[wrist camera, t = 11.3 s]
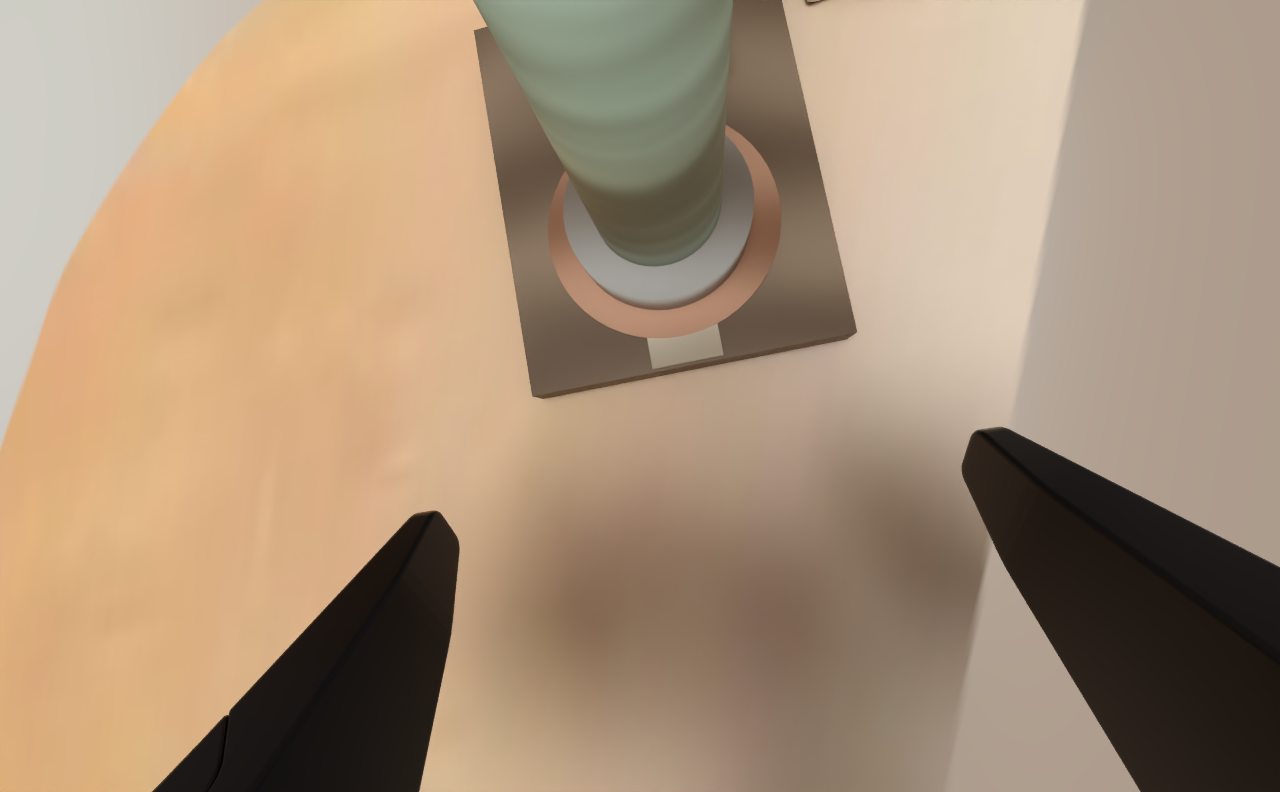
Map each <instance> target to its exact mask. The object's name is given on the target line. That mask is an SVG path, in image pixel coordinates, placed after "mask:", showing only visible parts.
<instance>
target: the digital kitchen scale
mask: <svg viewBox="0 0 1280 792" xmlns="http://www.w3.org/2000/svg"><path fill="white" fill-rule="evenodd" d="M474 34H475V40H476V46H477V52H478V59H479V65H480V71H481V77H482V84H483V90H484V96H485V102H486V109H487V115H488V121H489V128H490V134H491V140H492V146H493V153H494V159H495V165H496V171H497V178H498V184H499V190H500V196H501V203H502V209H503V215H504V221H505V228H506V234H507V240H508V247H509V253H510V259H511V265H512V272H513V278H514V284H515V290H516V297H517V303H518V309H519V315H520V322H521V328H522V334H523V340H524V347H525V353H526V359H527V366H528V372H529V378H530V384H531V391H532V396H533V397H538V398H542V399H545V398H550V397H555V396H560V395H565V394H570V393H575V392H580V391H585V390H590V389H596V388H601V387H606V386H611V385H616V384H621V383H626V382H631V381H636V380H641V379H646V378H651V377H656V376H662V375H667V374H672V373H677V372H682V371H687V370H692V369H697V368H702V367H707V366H712V365H717V364H723V363H728V362H733V361H738V360H743V359H748V358H753V357H758V356H763V355H768V354H773V353H778V352H783V351H789V350H794V349H799V348H804V347H809V346H814V345H819V344H824V343H829V342H834V341H839V340H844V339H848V338H849V337H850V336H852V335H853V334H855V333H856V332H857V330H856V325H855V321H854V316H853V312H852V308H851V303H850V299H849V294H848V290H847V286H846V281H845V277H844V272H843V268H842V264H841V259H840V255H839V251H838V246H837V242H836V237H835V233H834V229H833V224H832V220H831V215H830V211H829V207H828V202H827V198H826V193H825V189H824V185H823V180H822V176H821V171H820V167H819V163H818V158H817V154H816V149H815V145H814V141H813V136H812V132H811V127H810V123H809V119H808V114H807V110H806V106H805V101H804V97H803V92H802V88H801V84H800V79H799V75H798V70H797V66H796V62H795V57H794V53H793V48H792V44H791V40H790V35H789V31H788V26H787V22H786V18H785V13H784V9H783V4H782V0H733V10H732V27H731V44H730V61H729V78H728V95H727V112H726V129H725V135H726V136H727V137H728V138H729V139H730V140H731V141H732V142H733V143H734V144H735V145H736V147H737V148H738V149H739V151H740V152H741V154H742V155H743V157H744V159H745V161H746V163H747V165H748V168H749V171H750V174H751V177H752V182H753V188H754V211H753V218H752V223H751V227H750V232H749V237H748V241H747V245H746V248H745V250H744V253H743V256H742V258H741V260H740V261H739V263H738V265H737V267H736V268H735V270H734V271H733V272H732V274H731V275H730V276H729V278H728V279H727V280H726V281H725V282H724V283H723V284H722V285H721V286H720V287H718V288H717V289H716V290H715V291H714V292H712V293H711V294H709V295H708V296H706V297H704V298H703V299H701V300H699V301H697V302H694V303H692V304H689V305H686V306H683V307H680V308H675V309H669V310H648V309H642V308H637V307H633V306H630V305H628V304H625V303H623V302H621V301H619V300H617V299H615V298H613V297H612V296H610V295H609V294H607V293H606V292H605V291H604V290H603V289H601V288H600V287H599V286H598V285H597V284H596V283H595V281H594V280H593V279H592V278H591V277H590V275H589V274H588V273H587V271H586V270H585V268H584V267H583V266H582V264H581V263H580V262H579V260H578V259H577V257H576V255H575V254H574V252H573V250H572V248H571V246H570V243H569V241H568V238H567V234H566V231H565V225H564V218H563V204H564V196H565V191H566V187H567V183H568V180H569V176H568V175H567V173H566V171H565V169H564V167H563V165H562V163H561V162H560V160H559V158H558V156H557V154H556V152H555V151H554V149H553V147H552V145H551V143H550V141H549V139H548V138H547V136H546V134H545V132H544V130H543V128H542V126H541V125H540V123H539V121H538V119H537V117H536V115H535V113H534V112H533V110H532V108H531V106H530V104H529V102H528V101H527V99H526V97H525V95H524V93H523V91H522V89H521V88H520V86H519V84H518V82H517V80H516V78H515V76H514V75H513V73H512V71H511V69H510V67H509V65H508V64H507V62H506V60H505V58H504V56H503V54H502V52H501V51H500V49H499V47H498V45H497V43H496V41H495V39H494V38H493V36H492V34H491V32H490V30H489V28H488V27H485V28H481V29H478V30H474Z"/></svg>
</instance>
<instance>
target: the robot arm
mask: <svg viewBox="0 0 1280 792" xmlns="http://www.w3.org/2000/svg"><path fill="white" fill-rule="evenodd" d="M962 474H963V478H964V480H965V483H966V485H967V487H968V489H969V491H970V493H971V496H972V498H973V500H974V502H975V504H976V506H977V509H978V511H979V513H980V515H981V517H982V519H983V522H984V524H985V526H986V528H987V530H988V532H989V535H990V537H991V539H992V541H993V543H994V545H995V547H996V550H997V551H998V554H999V556H1000V558H1001V560H1002V562H1003V564H1004V566H1005V567H1006V569H1007V571H1008V573H1009V574H1010V576H1011V578H1012V579H1013V581H1014V583H1015V584H1016V586H1017V588H1018V589H1019V591H1020V593H1021V594H1022V596H1023V598H1024V599H1025V601H1026V603H1027V604H1028V606H1029V608H1030V609H1031V611H1032V613H1033V614H1034V616H1035V618H1036V619H1037V621H1038V622H1039V624H1040V626H1041V627H1042V629H1043V630H1044V632H1045V634H1046V636H1047V637H1048V639H1049V641H1050V642H1051V644H1052V645H1053V647H1054V649H1055V651H1056V652H1057V654H1058V656H1059V657H1060V659H1061V661H1062V662H1063V664H1064V666H1065V667H1066V669H1067V671H1068V672H1069V674H1070V676H1071V677H1072V679H1073V680H1074V682H1075V684H1076V685H1077V687H1078V688H1079V690H1080V692H1081V693H1082V695H1083V697H1084V699H1085V700H1086V702H1087V704H1088V705H1089V707H1090V709H1091V710H1092V712H1093V714H1094V715H1095V717H1096V719H1097V720H1098V722H1099V724H1100V725H1101V727H1102V729H1103V730H1104V732H1105V734H1106V735H1107V737H1108V738H1109V740H1110V742H1111V744H1112V745H1113V747H1114V748H1115V750H1116V752H1117V753H1118V755H1119V757H1120V758H1121V760H1122V762H1123V763H1124V765H1125V767H1126V768H1127V770H1128V772H1129V773H1130V775H1131V777H1132V778H1133V780H1134V782H1135V783H1136V785H1137V787H1138V788H1139V790H1140V792H1280V567H1279V566H1277V565H1275V564H1273V563H1271V562H1269V561H1267V560H1265V559H1263V558H1261V557H1259V556H1257V555H1255V554H1253V553H1251V552H1249V551H1247V550H1245V549H1243V548H1241V547H1239V546H1237V545H1235V544H1233V543H1231V542H1229V541H1227V540H1226V539H1223V538H1222V537H1220V536H1217V535H1216V534H1214V533H1212V532H1210V531H1208V530H1206V529H1204V528H1202V527H1200V526H1198V525H1196V524H1194V523H1192V522H1190V521H1188V520H1186V519H1184V518H1182V517H1180V516H1178V515H1176V514H1174V513H1172V512H1171V511H1168V510H1167V509H1165V508H1163V507H1161V506H1159V505H1157V504H1155V503H1153V502H1151V501H1149V500H1147V499H1145V498H1143V497H1141V496H1139V495H1137V494H1135V493H1133V492H1131V491H1129V490H1127V489H1125V488H1123V487H1121V486H1119V485H1117V484H1116V483H1114V482H1111V481H1109V480H1108V479H1106V478H1104V477H1102V476H1100V475H1098V474H1096V473H1094V472H1092V471H1090V470H1088V469H1086V468H1084V467H1082V466H1080V465H1078V464H1076V463H1074V462H1072V461H1070V460H1068V459H1066V458H1064V457H1063V456H1061V455H1058V454H1057V453H1055V452H1053V451H1051V450H1049V449H1047V448H1045V447H1043V446H1041V445H1039V444H1037V443H1035V442H1033V441H1031V440H1029V439H1027V438H1025V437H1023V436H1021V435H1019V434H1017V433H1015V432H1013V431H1011V430H1009V429H1007V428H1004V427H994V428H987V429H981V430H977V431H975V432H974V433H973V434H972V435H971V438H970V441H969V444H968V447H967V450H966V453H965V457H964V460H963V463H962ZM458 561H459V541H458V538H457V536H456V534H455V533H454V532H453V530H452V529H451V527H450V526H449V524H448V523H447V521H446V520H445V518H444V517H443V515H442V514H441V513H440V512H438V511H428V512H421V513H416V514H414V515H413V516H411V517H410V518H409V519H408V520H407V521H406V522H405V523H404V524H403V526H402V527H401V528H400V529H399V530H398V531H397V532H396V533H395V534H394V535H393V536H392V537H391V538H390V539H389V541H388V542H387V543H386V544H385V545H384V546H383V547H382V548H381V549H380V550H379V551H378V552H377V553H376V554H375V556H374V557H373V558H372V559H371V560H370V561H369V562H368V563H367V564H366V565H365V566H364V567H363V568H362V569H361V571H360V572H359V573H358V574H357V575H356V576H355V577H354V578H353V579H352V580H351V581H350V582H349V583H348V584H347V586H346V587H345V588H344V589H343V590H342V591H341V592H340V593H339V594H338V595H337V596H336V597H335V598H334V599H333V601H332V602H331V603H330V604H329V605H328V606H327V607H326V608H325V609H324V610H323V611H322V612H321V613H320V614H319V615H318V617H317V618H316V619H315V620H314V621H313V622H312V623H311V624H310V625H309V626H308V627H307V628H306V629H305V630H304V632H303V633H302V634H301V635H300V636H299V637H298V638H297V639H296V640H295V641H294V642H293V643H292V644H291V645H290V647H289V648H288V649H287V650H286V651H285V652H284V653H283V654H282V655H281V656H280V657H279V658H278V659H277V660H276V662H275V663H274V664H273V665H272V666H271V667H270V668H269V669H268V670H267V671H266V672H265V673H264V674H263V675H262V677H261V678H260V679H259V680H258V681H257V682H256V683H255V684H254V685H253V686H252V687H251V688H250V689H249V690H248V692H247V693H246V694H245V695H244V696H243V697H242V698H241V699H240V700H239V701H238V702H237V703H236V704H235V705H234V706H233V708H232V709H231V710H230V712H229V715H226V716H224V717H223V718H222V719H221V720H220V721H219V722H218V723H217V724H216V726H215V727H214V728H213V729H212V730H211V731H210V732H209V733H208V734H207V735H206V736H205V737H204V738H203V739H202V741H201V742H200V743H199V744H198V745H197V746H196V747H195V748H194V749H193V750H192V751H191V752H190V753H189V754H188V755H187V756H186V757H185V758H184V759H183V760H182V761H181V762H180V763H179V765H178V766H177V767H176V768H175V769H174V770H173V771H172V772H171V773H170V774H169V775H168V776H167V777H166V778H165V779H164V780H163V781H162V782H161V783H160V784H159V785H158V786H157V787H156V788H155V789H154V790H153V791H152V792H419V790H420V785H421V780H422V775H423V771H424V766H425V761H426V756H427V751H428V746H429V741H430V736H431V731H432V727H433V722H434V717H435V712H436V707H437V702H438V697H439V692H440V687H441V683H442V678H443V673H444V668H445V663H446V658H447V653H448V648H449V643H450V637H451V631H452V623H453V613H454V603H455V592H456V582H457V571H458Z"/></svg>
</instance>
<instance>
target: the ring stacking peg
mask: <svg viewBox="0 0 1280 792" xmlns="http://www.w3.org/2000/svg"><path fill="white" fill-rule="evenodd" d="M473 1H474V2H475V4H476V6H477V8H478V10H479V12H480V14H481V15H482V17H483V19H484V21H485V23H486V25H487V26H488V28H489V30H490V32H491V34H492V36H493V38H494V39H495V41H496V43H497V45H498V47H499V49H500V51H501V52H502V54H503V56H504V58H505V60H506V62H507V64H508V65H509V67H510V69H511V71H512V73H513V75H514V76H515V78H516V80H517V82H518V84H519V86H520V88H521V89H522V91H523V93H524V95H525V97H526V99H527V101H528V102H529V104H530V106H531V108H532V110H533V112H534V113H535V115H536V117H537V119H538V121H539V123H540V125H541V126H542V128H543V130H544V132H545V134H546V136H547V138H548V139H549V141H550V143H551V145H552V147H553V149H554V151H555V152H556V154H557V156H558V158H559V160H560V162H561V163H562V165H563V167H564V169H565V171H566V173H567V175H568V176H569V180H568V183H567V187H566V191H565V196H564V204H563V218H564V225H565V231H566V234H567V238H568V241H569V243H570V246H571V248H572V250H573V252H574V254H575V255H576V257H577V259H578V260H579V262H580V263H581V264H582V266H583V267H584V268H585V270H586V271H587V273H588V274H589V275H590V277H591V278H592V279H593V280H594V281H595V283H596V284H597V285H598V286H599V287H600V288H601V289H603V290H604V291H605V292H606V293H607V294H609V295H610V296H612V297H613V298H615V299H617V300H619V301H621V302H623V303H625V304H628V305H630V306H633V307H637V308H642V309H648V310H669V309H675V308H680V307H683V306H686V305H689V304H692V303H694V302H697V301H699V300H701V299H703V298H704V297H706V296H708V295H709V294H711V293H712V292H714V291H715V290H716V289H717V288H718V287H720V286H721V285H722V284H723V283H724V282H725V281H726V280H727V279H728V278H729V276H730V275H731V274H732V272H733V271H734V270H735V268H736V267H737V265H738V263H739V261H740V260H741V258H742V256H743V253H744V250H745V248H746V245H747V241H748V237H749V232H750V227H751V223H752V218H753V211H754V188H753V182H752V177H751V174H750V171H749V168H748V165H747V163H746V161H745V159H744V157H743V155H742V154H741V152H740V151H739V149H738V148H737V147H736V145H735V144H734V143H733V142H732V141H731V140H730V139H729V138H728V137H727V136H726V135H725V129H726V112H727V95H728V78H729V61H730V44H731V27H732V10H733V0H473Z"/></svg>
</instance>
